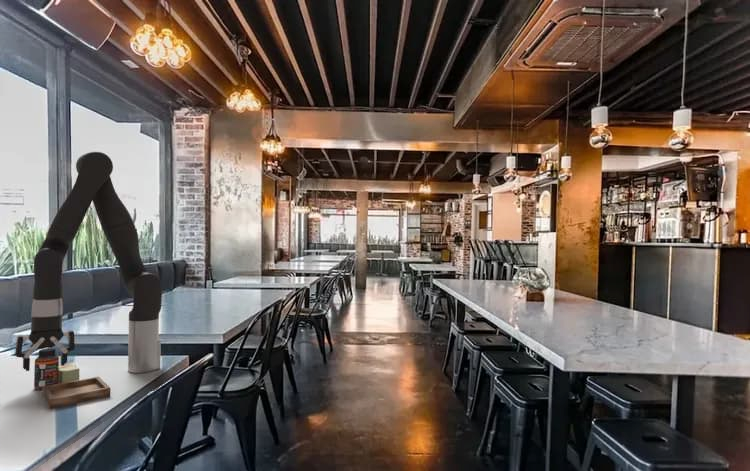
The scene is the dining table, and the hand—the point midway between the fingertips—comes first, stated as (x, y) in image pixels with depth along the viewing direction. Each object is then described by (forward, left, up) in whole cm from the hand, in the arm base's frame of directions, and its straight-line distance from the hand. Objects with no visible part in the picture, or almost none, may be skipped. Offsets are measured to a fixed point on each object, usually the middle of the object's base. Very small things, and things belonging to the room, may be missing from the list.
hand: (45, 367), depth 134 cm
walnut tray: (-5, +15, -6) cm, 17 cm away
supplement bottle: (0, 0, -6) cm, 6 cm away
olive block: (-6, -1, -2) cm, 6 cm away
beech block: (-6, -7, -6) cm, 11 cm away
